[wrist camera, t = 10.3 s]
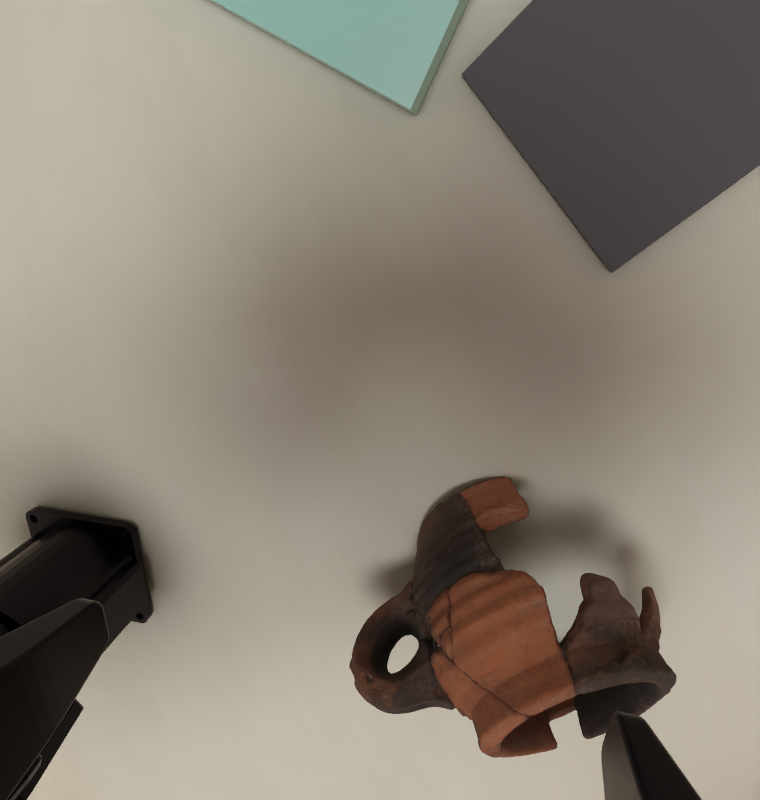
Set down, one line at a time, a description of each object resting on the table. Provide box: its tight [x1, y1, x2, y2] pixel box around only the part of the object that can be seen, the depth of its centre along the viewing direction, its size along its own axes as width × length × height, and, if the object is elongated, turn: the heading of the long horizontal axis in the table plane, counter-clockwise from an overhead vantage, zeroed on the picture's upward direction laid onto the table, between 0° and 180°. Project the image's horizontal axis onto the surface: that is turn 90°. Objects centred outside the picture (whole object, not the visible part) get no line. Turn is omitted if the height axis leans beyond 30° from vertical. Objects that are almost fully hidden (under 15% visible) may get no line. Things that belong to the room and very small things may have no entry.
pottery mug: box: [350, 477, 676, 757], centre depth 21 cm, size 12×9×8 cm
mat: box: [462, 0, 760, 273], centre depth 15 cm, size 8×8×1 cm
